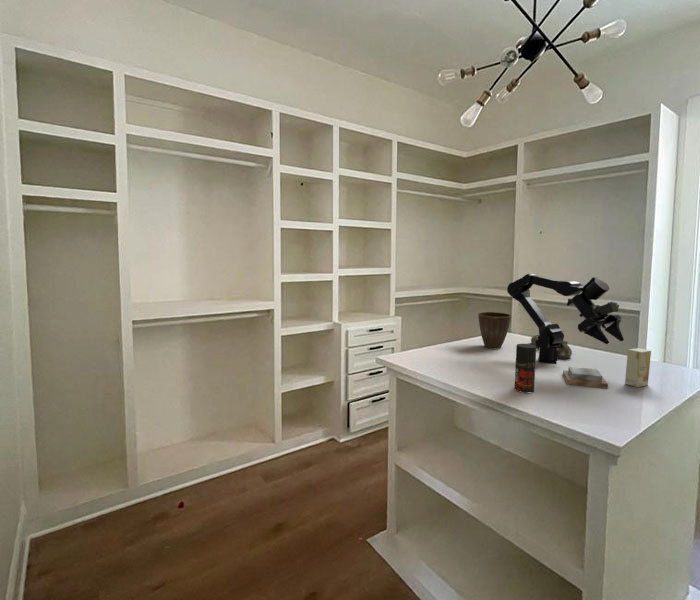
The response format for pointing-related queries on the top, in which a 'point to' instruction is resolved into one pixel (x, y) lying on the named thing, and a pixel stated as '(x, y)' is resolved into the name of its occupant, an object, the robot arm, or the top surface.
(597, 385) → the brown picture frame
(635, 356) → the skincare box
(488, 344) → the plant pot
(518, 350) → the deodorant
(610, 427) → the top surface
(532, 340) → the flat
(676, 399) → the top surface
